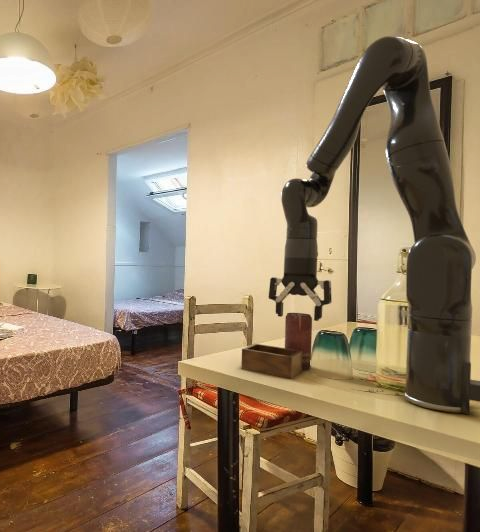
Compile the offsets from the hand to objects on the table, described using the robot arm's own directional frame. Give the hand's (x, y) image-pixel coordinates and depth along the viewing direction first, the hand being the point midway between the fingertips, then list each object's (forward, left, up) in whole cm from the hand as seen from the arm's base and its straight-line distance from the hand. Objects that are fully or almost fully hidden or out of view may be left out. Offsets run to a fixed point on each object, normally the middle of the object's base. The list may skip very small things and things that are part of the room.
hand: (298, 318), depth 103 cm
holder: (+4, +8, -13) cm, 15 cm away
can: (0, 0, -13) cm, 13 cm away
